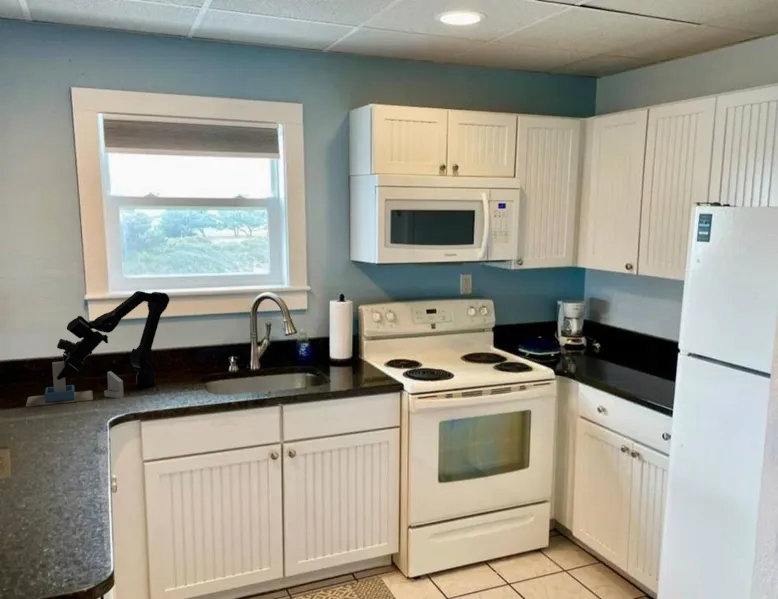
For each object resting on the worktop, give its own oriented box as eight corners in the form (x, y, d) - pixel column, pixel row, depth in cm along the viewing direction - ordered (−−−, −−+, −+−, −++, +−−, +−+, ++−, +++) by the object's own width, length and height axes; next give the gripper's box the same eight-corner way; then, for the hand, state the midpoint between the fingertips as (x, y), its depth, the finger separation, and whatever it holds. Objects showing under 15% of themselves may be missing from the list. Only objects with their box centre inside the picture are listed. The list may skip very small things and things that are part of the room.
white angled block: (103, 388, 250) (110, 371, 248) (120, 403, 248) (128, 386, 245) (95, 391, 247) (103, 373, 245) (113, 406, 245) (121, 388, 242)
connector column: (66, 394, 245) (64, 361, 243) (66, 397, 241) (64, 363, 240) (54, 396, 243) (52, 362, 241) (54, 398, 240) (52, 364, 238)
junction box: (74, 393, 249) (74, 384, 248) (74, 400, 240) (73, 390, 240) (46, 396, 245) (46, 387, 244) (45, 403, 236) (44, 393, 236)
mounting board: (92, 393, 253) (92, 390, 253) (92, 402, 241) (92, 399, 241) (28, 399, 244) (28, 396, 244) (25, 409, 231) (25, 406, 231)
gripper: (68, 327, 250) (38, 358, 245) (71, 335, 233) (39, 368, 229) (92, 345, 254) (62, 376, 250) (96, 354, 238) (65, 387, 234)
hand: (57, 376), depth 241 cm, fingers open, 9 cm apart
